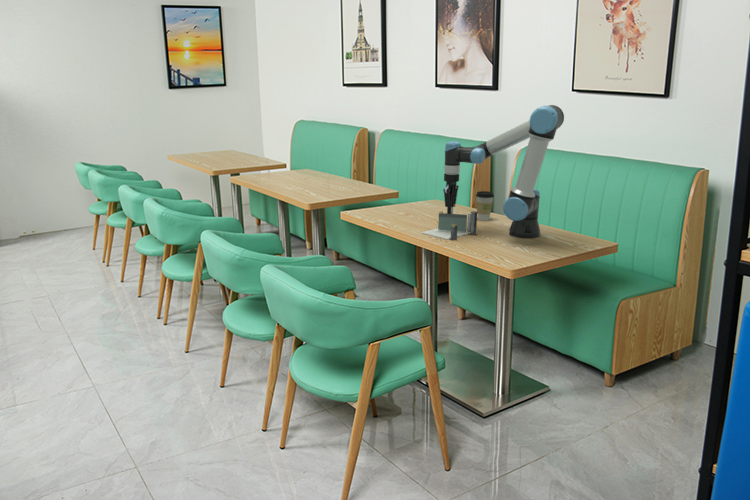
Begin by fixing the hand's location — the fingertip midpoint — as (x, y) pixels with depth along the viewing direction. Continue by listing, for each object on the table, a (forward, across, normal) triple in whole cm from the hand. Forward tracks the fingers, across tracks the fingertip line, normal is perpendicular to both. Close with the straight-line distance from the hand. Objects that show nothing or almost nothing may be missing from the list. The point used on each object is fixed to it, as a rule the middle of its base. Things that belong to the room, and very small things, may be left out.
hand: (449, 219), depth 315 cm
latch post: (+6, +14, +9) cm, 18 cm away
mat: (+6, +6, 0) cm, 8 cm away
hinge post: (+6, 0, +13) cm, 15 cm away
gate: (+5, +1, +4) cm, 6 cm away
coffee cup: (+7, -34, +4) cm, 35 cm away
